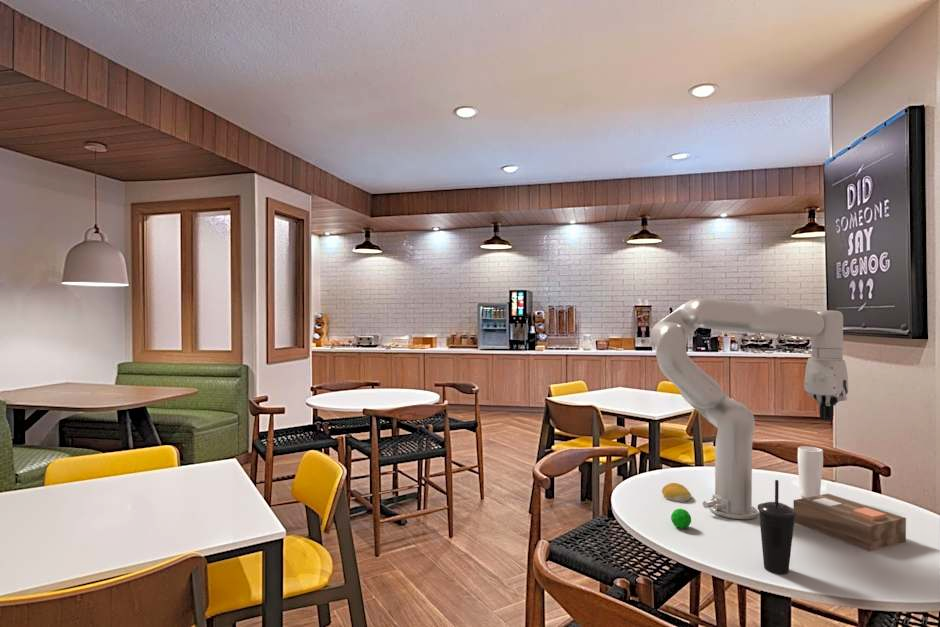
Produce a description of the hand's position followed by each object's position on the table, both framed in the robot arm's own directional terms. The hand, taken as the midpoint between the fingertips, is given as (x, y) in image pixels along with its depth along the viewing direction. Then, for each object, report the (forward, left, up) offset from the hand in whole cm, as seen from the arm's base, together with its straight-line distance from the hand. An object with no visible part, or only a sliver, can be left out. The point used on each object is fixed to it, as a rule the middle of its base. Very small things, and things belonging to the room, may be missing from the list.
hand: (826, 419), depth 159 cm
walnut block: (-6, -10, -27) cm, 30 cm away
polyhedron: (-44, +9, -27) cm, 53 cm away
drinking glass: (+10, +12, -27) cm, 31 cm away
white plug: (-6, -4, -25) cm, 26 cm away
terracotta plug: (-6, -15, -24) cm, 29 cm away
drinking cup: (-42, -18, -27) cm, 53 cm away
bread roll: (-28, +28, -28) cm, 48 cm away
